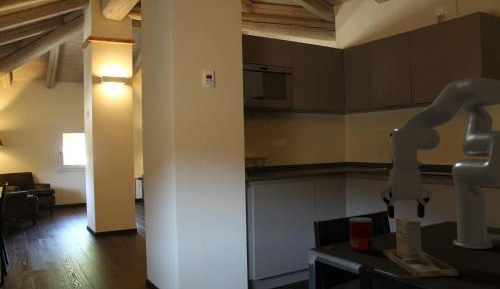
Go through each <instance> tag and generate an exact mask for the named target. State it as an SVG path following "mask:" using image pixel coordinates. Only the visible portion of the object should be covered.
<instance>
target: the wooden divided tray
mask: <svg viewBox="0 0 500 289" xmlns="http://www.w3.org/2000/svg"><path fill="white" fill-rule="evenodd" d="M382 252H383V256H385V257H386V258H388V259H390V261H392V262H394V263H395V264H397V265H398V266H400V267H401V268H403V269H404V270H406V271H407V272H408V273H410V274H411V275H413V276H414V277H415V278H420V277H421V278H422V277H423V278H425V277H427V278H428V277H429V278H430V277H452V276H453V277H454V276H455V277H456V276H459V269H457V268H455V267H453V266H451V265H449V264H447V263H445V262H443V261H442V260H440V259H438V258H436V257H434V256H432V255H431V254H428V253H426V252H424V251H423V250H421V258H419V259H402V258H400V257H399V256H397V248H396V249H383V251H382Z"/></svg>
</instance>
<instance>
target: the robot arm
mask: <svg viewBox="0 0 500 289" xmlns="http://www.w3.org/2000/svg"><path fill="white" fill-rule="evenodd" d="M495 105H500V80H499V79H492V78H486V77H470V78H465V79H461V80H460V79H459V80H455V81H452V82H450V83H448V84H447V85H446V86H445V87H444V88H443V90H441V92H440V93H439V95H437V97H436V98H435V99H434V101H433V102H432V103H431V104H430V105H429V106H427V107H426V108H424V109H422V110H421V111H419V112H418V113H416V114H414V115H413V116H412V117H410V118H409V119H408V120H406V122H405V123H404V124H403V125H402V127H399V128H398V127H397V128H394V129H393V131H392V169H389V170H390V171H389V175H388V183H387V187H386V188H384V189H382V190H381V191H378V195H379V196H380V199H381V200H382V201H383V203H385V205H386V206H387V207H386V208H387V210H386V213H387V214H386V215H387V216H388V218H390V219H394V218H395V206H394V204H395V202H396V201H416V202H417V203H418V204H417V205H416V210H417V211H416V214H417V218H420V219H424V216H425V213H426V212H425V208H426V207H425V206H426V205H427V203H428V202H430V199H431V197H432V195H433V192H432V191H431V190H429V189H427V188H425V187H423V182H422V175H421V172H420V171H421V170H420V169H418V168H419V167H421V166H422V162H421V161H419V160H418V151H429V150H434V149H436V148H437V147H438V146H439V144H440V142H441V137H440V134H439V132H438V131H437V130H436V129H434V128H436V127H440V126H443V125H445V124H448V123H449V122H451V121H452V120H453V119H454V118H455V116H456V115H457V113H458V112H459V111H460V109H461V108H462V110H463V112H464V114H465V117H466V123H465V124H466V126H465V129H464V135H463V139H462V146H461V149H462V150H461V151H462V152H463V154H464V155H465V156H467V157H471V158H464V159H460V160H457V161H456V162H455V163H454V164H453V165H452V168H451V175H452V179H453V184H454V187H455V201H456V202H455V204H456V205H455V207H456V225H457V226H456V227H457V228H456V229H457V232H456V233H457V239H453V240H452V244H453V245H455V246H456V247H460V248H464V249H473V250H474V249H475V250H487V249H491V248H493V247H494V246H493V243H492V241H500V234H492V233H489V232H488V226H487V225H488V224H487V204H486V203H487V199H486V195H485V193H484V191H483V190H482V187H483V186H484V187H500V130H497V129H496V130H493V122H494V121H493V118H492V115H490V113H489V112H488V111H487V110H486V109H485V107H488V106H495ZM386 194H387V196H388V198H387V197H386ZM423 194H425V196H424V197H423Z"/></svg>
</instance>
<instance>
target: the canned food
mask: <svg viewBox="0 0 500 289" xmlns="http://www.w3.org/2000/svg"><path fill="white" fill-rule="evenodd" d="M373 231H374V230H373V219H372V218H369V217H363V216H361V217H360V216H359V217H358V216H356V217H350V218H349V242H350V244H349V246H350V249H351V250H352V251H354V252H360V251H368V252H371V251H373V249H374V236H373V235H374V233H373Z"/></svg>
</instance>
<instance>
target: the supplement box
mask: <svg viewBox="0 0 500 289" xmlns="http://www.w3.org/2000/svg"><path fill="white" fill-rule="evenodd" d="M395 234H396V237H395V238H396V240H395V242H396V249H397V255H396V257H398V258H400V259H419V258H422V257H421V251H422V234H421V221H420V220H418V219H415V218H412V217H409V216H397V217H395Z"/></svg>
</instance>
